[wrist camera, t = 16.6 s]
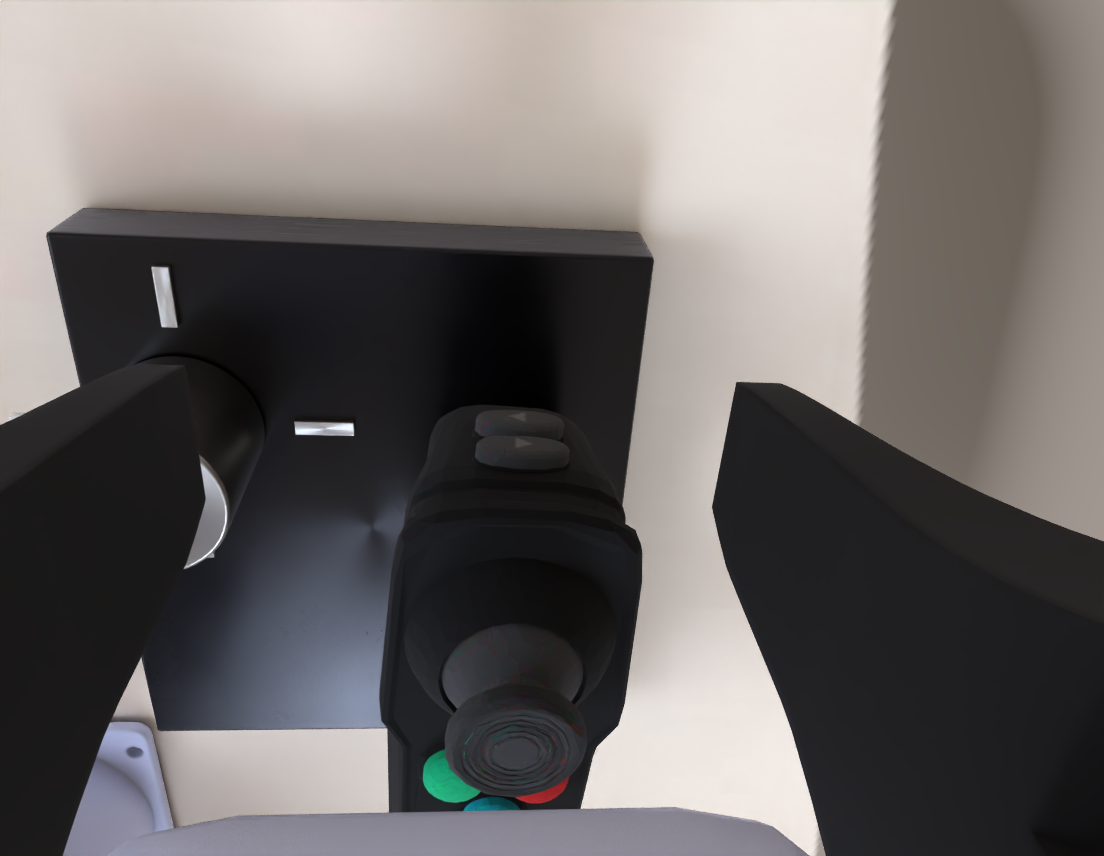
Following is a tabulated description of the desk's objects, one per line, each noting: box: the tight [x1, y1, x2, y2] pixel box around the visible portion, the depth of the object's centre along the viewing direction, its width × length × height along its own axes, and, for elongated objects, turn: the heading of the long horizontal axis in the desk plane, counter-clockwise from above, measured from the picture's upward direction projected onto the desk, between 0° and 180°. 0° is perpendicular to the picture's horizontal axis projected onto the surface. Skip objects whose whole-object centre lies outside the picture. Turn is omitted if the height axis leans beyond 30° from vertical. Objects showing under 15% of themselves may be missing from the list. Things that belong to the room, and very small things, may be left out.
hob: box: [10, 208, 654, 731], centre depth 23 cm, size 15×15×2 cm
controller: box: [379, 405, 642, 813], centre depth 18 cm, size 4×12×10 cm, turn 174°
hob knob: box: [138, 356, 265, 569], centre depth 19 cm, size 4×4×4 cm
